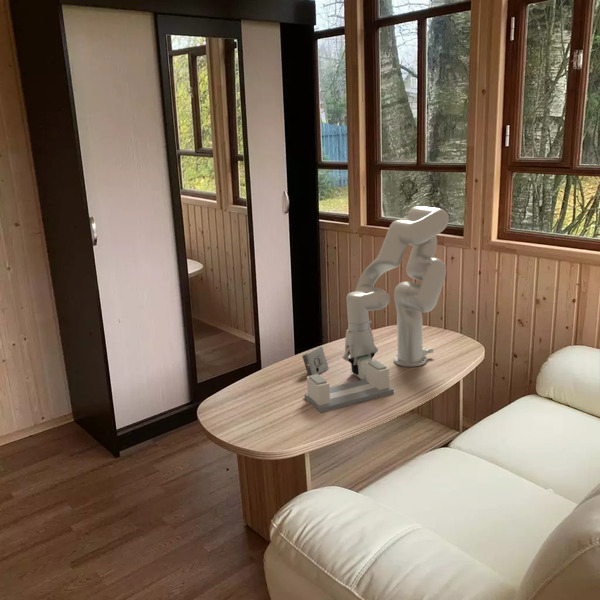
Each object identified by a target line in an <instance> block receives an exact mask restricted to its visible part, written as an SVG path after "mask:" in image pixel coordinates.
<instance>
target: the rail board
mask: <svg viewBox="0 0 600 600" xmlns="http://www.w3.org/2000/svg"><path fill="white" fill-rule="evenodd" d="M329 390H330V403H328V404H324V405H320V406H319V405H318V404H317V403H316V402H315V401H314V400H313V399H311V398H310V397H309V396H308V392H305V393H304V395H303V396H304V399H305V400H306V401H307V402H308V403H310V404H311V405H312V406H313V407H314V408H315V409H317V410H318V412H320V413H324V412H328V411H331V410H335V409H339V408H343V407H347V406H351V405H356V404H358V403H361V402H362V403H363V402H365V401H370V400H375V399H377V398H381V397H384V396H389V395H393V394H395V389H394V388H393V387H391V386H390V385H389V388H386V389H382V390H379V389H377V388H376V387H374V386H373V385H372V384H370V383H368V382H367V381H366V379H359V380H354V381H351V382H348V383H342V384H338V385H335V386H329Z"/></svg>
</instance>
